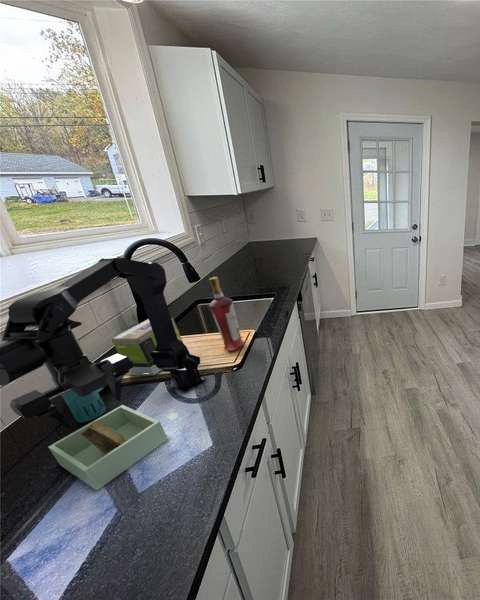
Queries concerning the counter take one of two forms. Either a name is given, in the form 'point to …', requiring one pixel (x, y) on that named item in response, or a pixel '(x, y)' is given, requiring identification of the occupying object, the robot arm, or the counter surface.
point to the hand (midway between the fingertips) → (95, 413)
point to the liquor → (225, 318)
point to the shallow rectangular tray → (103, 468)
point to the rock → (103, 436)
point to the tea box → (140, 347)
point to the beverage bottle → (84, 405)
